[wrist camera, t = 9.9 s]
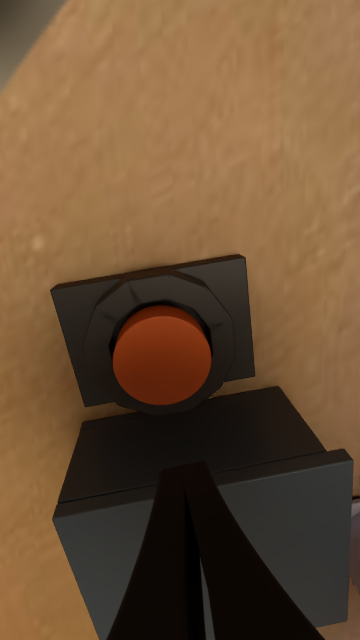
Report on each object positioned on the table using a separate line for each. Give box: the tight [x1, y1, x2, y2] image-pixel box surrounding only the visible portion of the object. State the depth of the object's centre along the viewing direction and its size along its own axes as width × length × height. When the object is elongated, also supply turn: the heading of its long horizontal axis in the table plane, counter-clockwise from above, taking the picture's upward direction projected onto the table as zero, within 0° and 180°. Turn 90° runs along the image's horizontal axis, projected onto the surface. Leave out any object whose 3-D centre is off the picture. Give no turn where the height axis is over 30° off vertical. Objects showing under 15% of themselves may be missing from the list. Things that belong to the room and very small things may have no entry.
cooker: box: [58, 386, 327, 504], centre depth 19 cm, size 13×12×6 cm
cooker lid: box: [52, 449, 353, 640], centre depth 16 cm, size 13×12×1 cm
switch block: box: [50, 254, 255, 416], centre depth 17 cm, size 10×7×3 cm
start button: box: [113, 305, 211, 405], centre depth 15 cm, size 4×4×2 cm
